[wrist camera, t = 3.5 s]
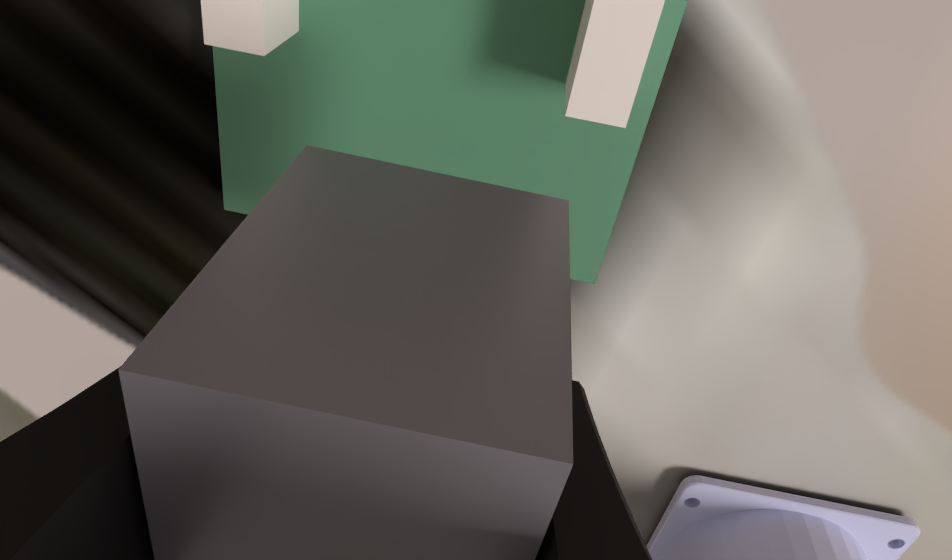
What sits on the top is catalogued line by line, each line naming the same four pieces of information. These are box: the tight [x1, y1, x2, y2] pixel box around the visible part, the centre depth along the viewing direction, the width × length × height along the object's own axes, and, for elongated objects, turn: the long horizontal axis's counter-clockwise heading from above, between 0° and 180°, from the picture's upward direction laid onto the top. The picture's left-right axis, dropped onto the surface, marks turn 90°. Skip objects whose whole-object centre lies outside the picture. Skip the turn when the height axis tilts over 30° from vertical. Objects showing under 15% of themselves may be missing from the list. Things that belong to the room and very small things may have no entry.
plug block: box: [118, 145, 573, 560], centre depth 9 cm, size 5×4×5 cm
